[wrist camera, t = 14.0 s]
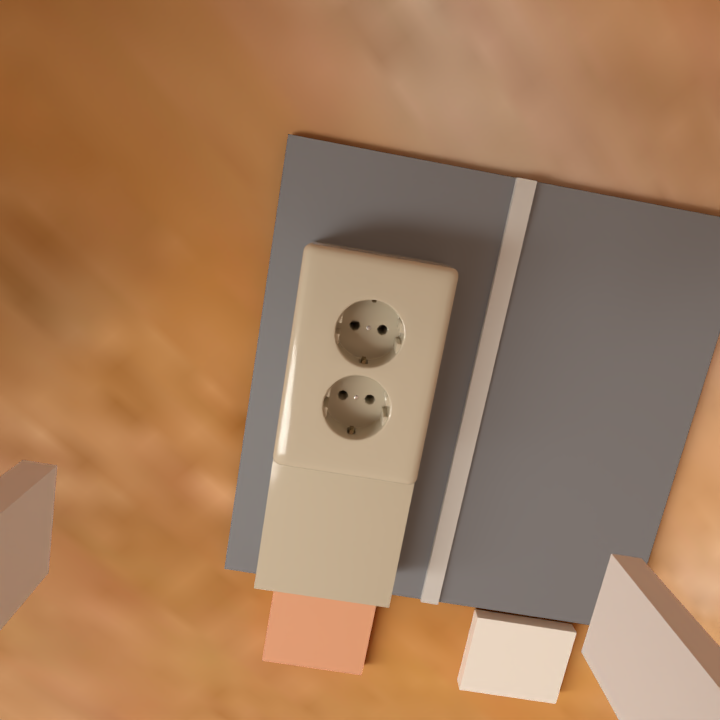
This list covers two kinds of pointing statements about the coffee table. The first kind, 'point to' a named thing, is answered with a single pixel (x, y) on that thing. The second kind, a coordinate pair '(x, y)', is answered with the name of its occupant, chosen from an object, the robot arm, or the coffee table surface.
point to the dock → (501, 398)
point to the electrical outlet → (352, 421)
